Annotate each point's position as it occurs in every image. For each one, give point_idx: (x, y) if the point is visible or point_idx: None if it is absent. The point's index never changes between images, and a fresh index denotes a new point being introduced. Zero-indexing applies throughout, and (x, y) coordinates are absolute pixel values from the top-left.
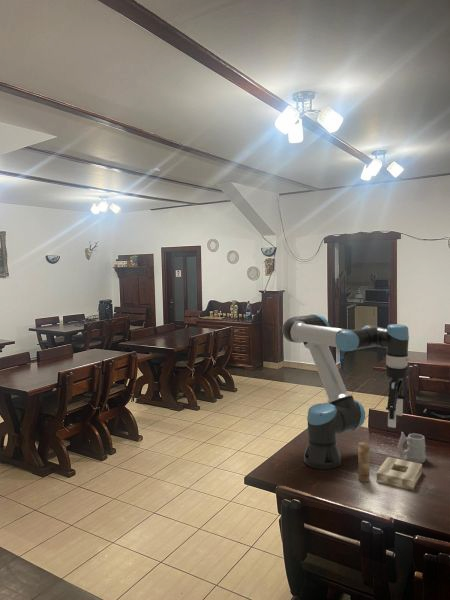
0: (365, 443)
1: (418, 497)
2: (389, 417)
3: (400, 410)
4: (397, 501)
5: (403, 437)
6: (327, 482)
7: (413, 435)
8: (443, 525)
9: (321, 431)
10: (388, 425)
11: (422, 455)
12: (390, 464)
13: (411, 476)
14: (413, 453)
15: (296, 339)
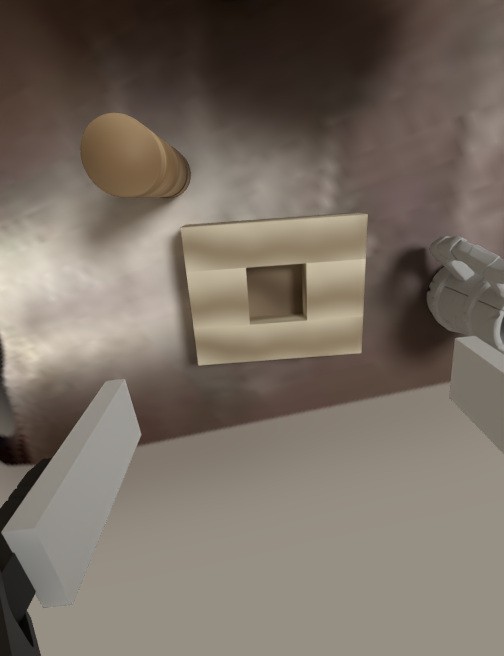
0: (139, 163)
1: (167, 375)
2: (27, 475)
3: (482, 414)
4: (97, 332)
5: (493, 274)
6: (34, 28)
7: None
8: None
9: None
10: (103, 392)
11: (454, 328)
12: (292, 251)
13: (230, 351)
14: (448, 300)
15: None
